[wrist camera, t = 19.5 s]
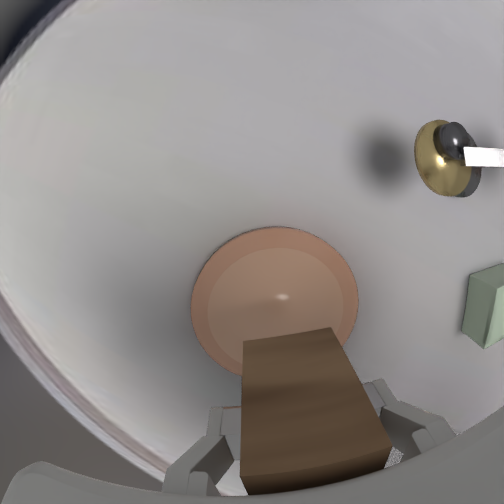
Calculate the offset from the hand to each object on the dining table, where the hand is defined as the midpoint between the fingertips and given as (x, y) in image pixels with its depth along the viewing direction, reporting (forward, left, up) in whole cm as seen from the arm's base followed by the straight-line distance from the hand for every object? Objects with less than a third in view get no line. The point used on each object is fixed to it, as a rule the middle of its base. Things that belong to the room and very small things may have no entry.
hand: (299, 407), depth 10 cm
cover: (-4, -22, -11) cm, 25 cm away
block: (0, 0, -3) cm, 3 cm away
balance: (+9, -17, -11) cm, 22 cm away
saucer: (0, 0, -11) cm, 11 cm away
